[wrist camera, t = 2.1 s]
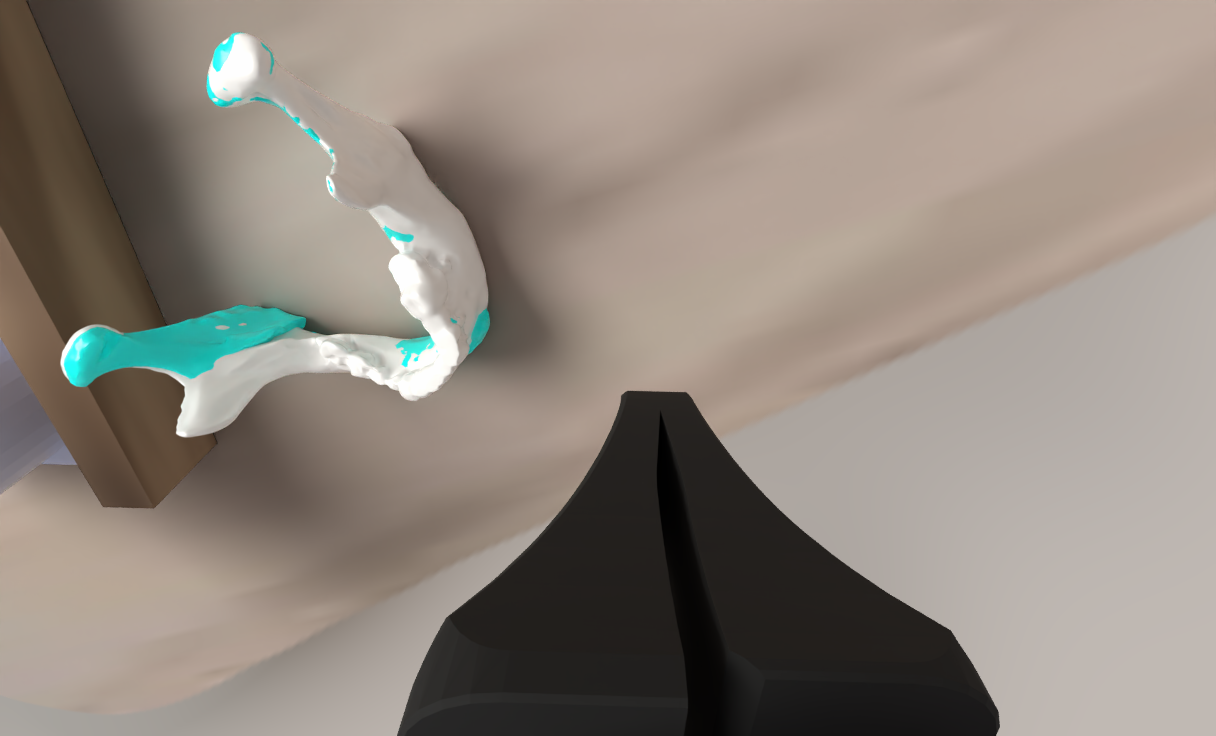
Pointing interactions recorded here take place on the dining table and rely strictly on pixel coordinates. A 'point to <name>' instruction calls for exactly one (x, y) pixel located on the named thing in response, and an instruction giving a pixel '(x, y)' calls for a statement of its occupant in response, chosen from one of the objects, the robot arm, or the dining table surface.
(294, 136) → the dining table surface
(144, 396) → the cleat board
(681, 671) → the robot arm
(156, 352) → the jawbone
